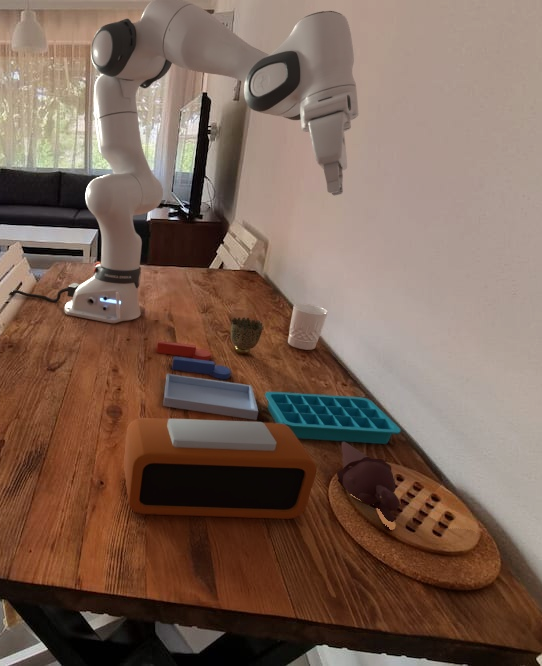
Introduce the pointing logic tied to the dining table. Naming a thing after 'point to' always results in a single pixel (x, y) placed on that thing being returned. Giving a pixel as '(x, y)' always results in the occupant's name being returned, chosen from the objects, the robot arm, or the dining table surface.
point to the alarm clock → (216, 469)
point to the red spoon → (183, 350)
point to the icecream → (369, 481)
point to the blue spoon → (201, 367)
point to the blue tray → (210, 396)
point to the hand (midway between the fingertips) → (335, 193)
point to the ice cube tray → (331, 417)
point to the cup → (245, 334)
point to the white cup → (306, 326)
